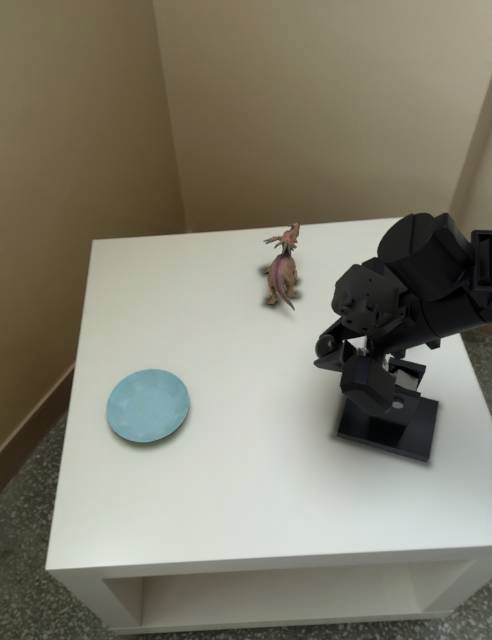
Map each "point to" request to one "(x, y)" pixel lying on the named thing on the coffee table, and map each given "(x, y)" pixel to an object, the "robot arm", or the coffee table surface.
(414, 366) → the bracket
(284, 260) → the dinosaur figurine
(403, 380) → the lever
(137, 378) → the saucer
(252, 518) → the coffee table surface
